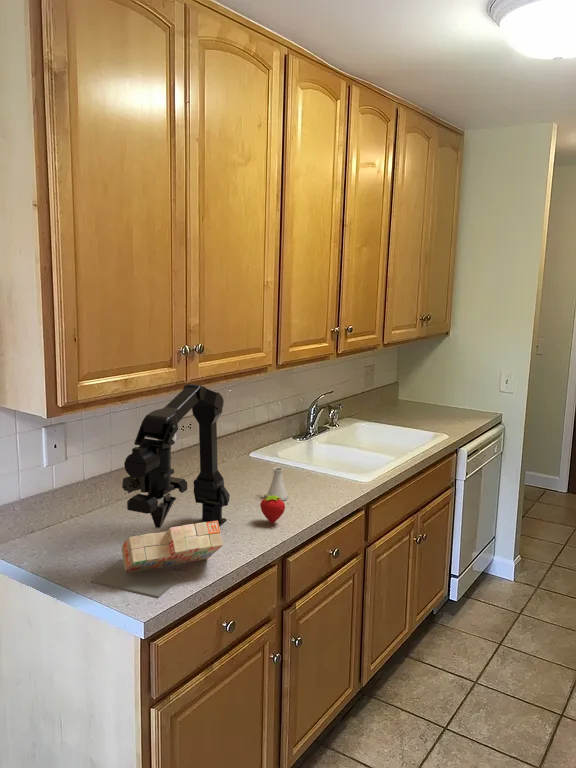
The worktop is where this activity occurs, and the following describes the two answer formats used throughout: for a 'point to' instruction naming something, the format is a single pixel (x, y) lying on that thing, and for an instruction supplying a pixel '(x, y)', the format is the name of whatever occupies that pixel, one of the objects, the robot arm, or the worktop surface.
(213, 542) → the stack of blocks
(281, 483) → the flask
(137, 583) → the mat
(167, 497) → the robot arm
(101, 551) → the worktop surface
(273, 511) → the strawberry
